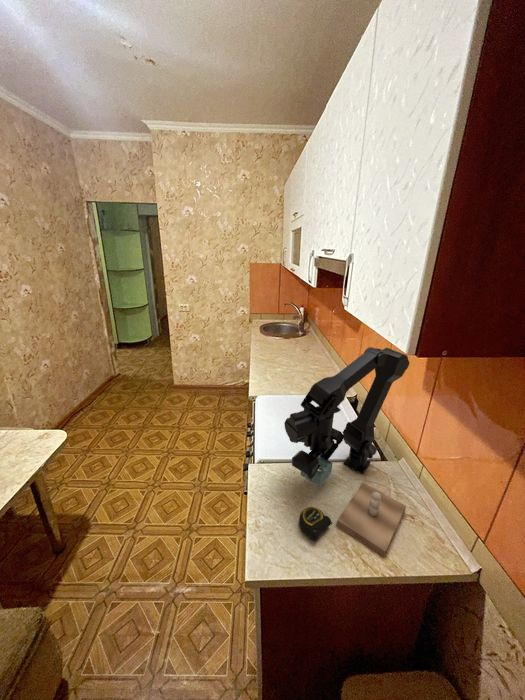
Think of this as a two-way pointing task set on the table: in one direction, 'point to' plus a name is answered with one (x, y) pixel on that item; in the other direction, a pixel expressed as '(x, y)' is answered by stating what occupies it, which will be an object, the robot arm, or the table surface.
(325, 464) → the collar
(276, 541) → the table surface
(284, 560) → the table surface
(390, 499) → the post board
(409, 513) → the table surface
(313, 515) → the tape measure
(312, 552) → the table surface
